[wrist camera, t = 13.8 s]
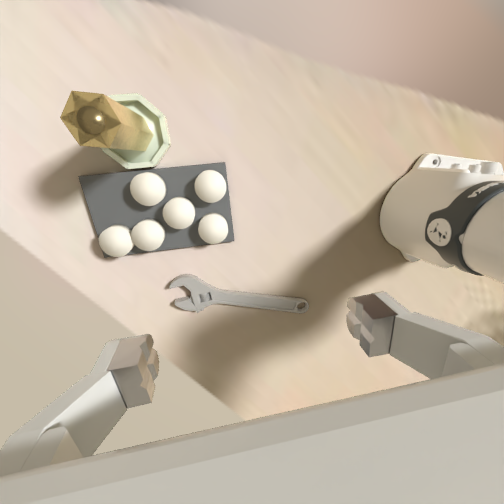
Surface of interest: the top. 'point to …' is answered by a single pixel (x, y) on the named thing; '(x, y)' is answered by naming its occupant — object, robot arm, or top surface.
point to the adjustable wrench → (230, 297)
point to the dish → (156, 125)
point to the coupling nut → (104, 123)
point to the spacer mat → (159, 208)
